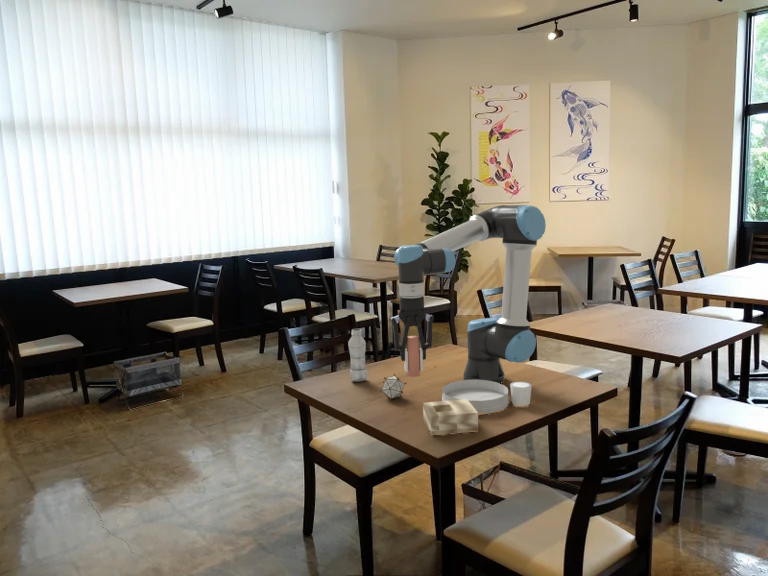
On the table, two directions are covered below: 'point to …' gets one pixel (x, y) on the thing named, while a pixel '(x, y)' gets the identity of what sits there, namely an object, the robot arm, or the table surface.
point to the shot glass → (520, 393)
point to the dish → (478, 394)
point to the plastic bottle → (357, 356)
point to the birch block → (450, 416)
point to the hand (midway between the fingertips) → (413, 369)
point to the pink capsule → (413, 356)
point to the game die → (392, 387)
